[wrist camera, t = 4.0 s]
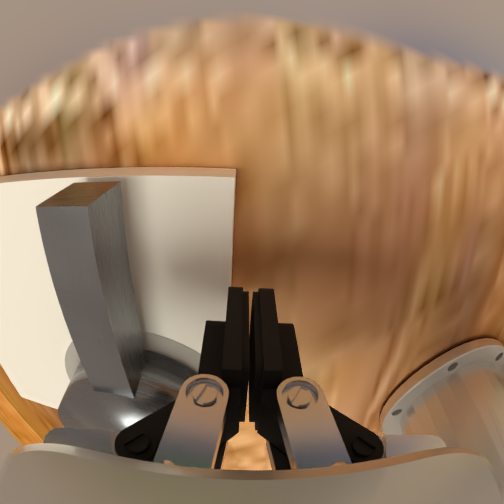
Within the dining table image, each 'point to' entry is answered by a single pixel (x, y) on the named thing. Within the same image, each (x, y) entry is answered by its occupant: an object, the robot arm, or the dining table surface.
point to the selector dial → (102, 312)
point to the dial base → (140, 261)
